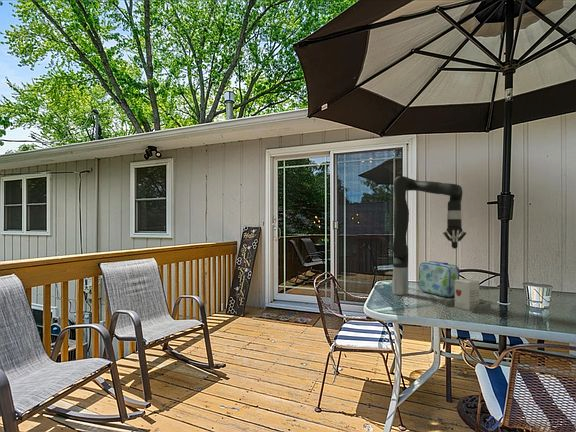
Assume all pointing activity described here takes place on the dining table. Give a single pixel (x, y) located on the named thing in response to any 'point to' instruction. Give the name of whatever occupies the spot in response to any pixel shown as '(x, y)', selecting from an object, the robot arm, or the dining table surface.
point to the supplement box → (466, 293)
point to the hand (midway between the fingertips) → (454, 248)
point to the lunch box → (438, 278)
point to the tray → (474, 309)
